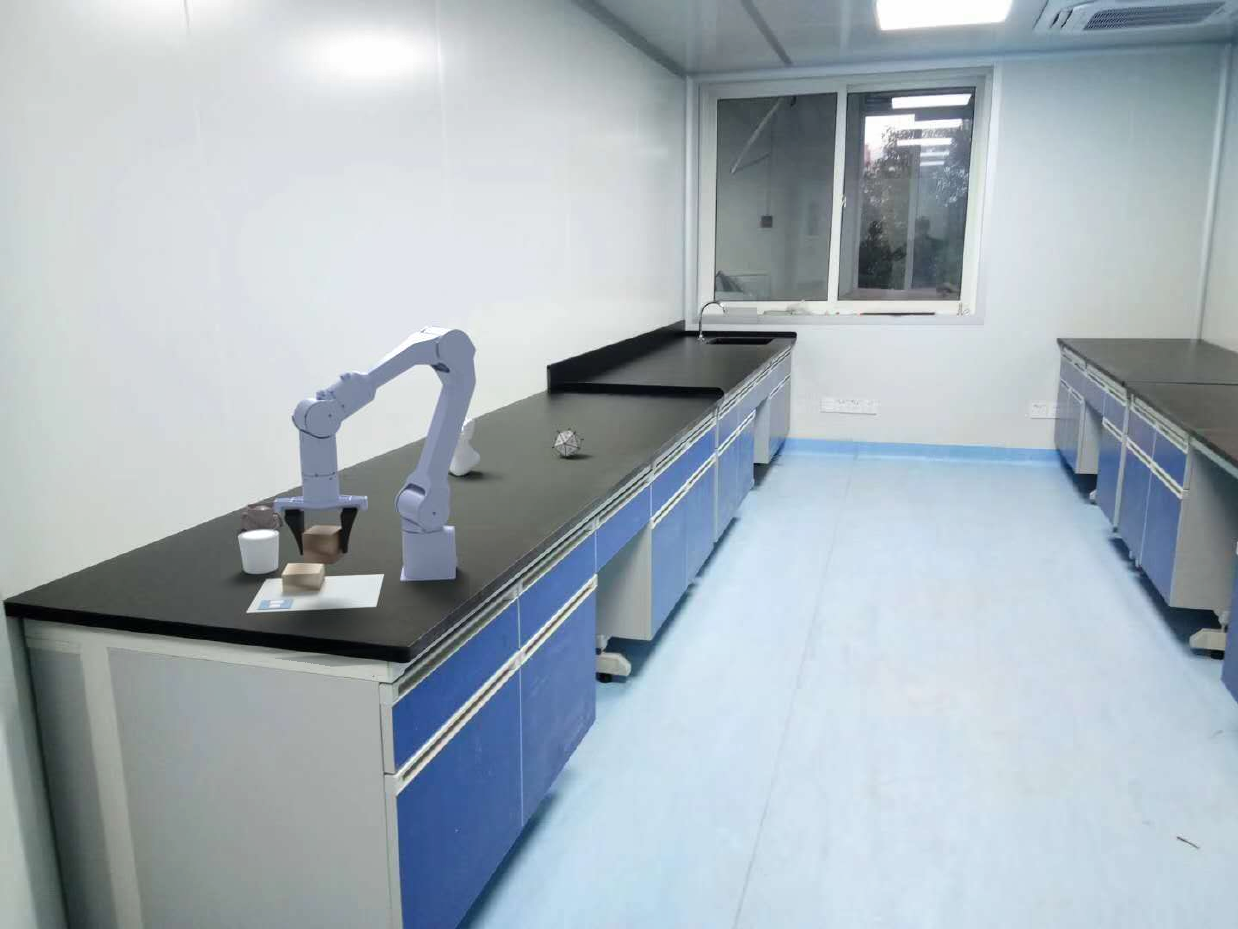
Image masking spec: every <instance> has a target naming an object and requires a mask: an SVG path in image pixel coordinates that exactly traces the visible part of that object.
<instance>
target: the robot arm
mask: <svg viewBox="0 0 1238 929" xmlns="http://www.w3.org/2000/svg"><path fill="white" fill-rule="evenodd" d="M476 352H477V349H476V346H475V344H473V341H472V340H471V338H470V337H469V335H468V334H467V333H466V332H465V331H463V330H461V329H456V328H454V329H452V328H451V329H450V328H444V327H439V326H434V325H428V326H425V327H424V328H422V329H421V330H420V331H419V332H415V333H414V334H410V336H408V338H407V339H406V340H405V341H404V342H403V343H402V344H400V345H399V346H398V347H396V348H395V349H394V350H392V351H390V352H389V353H388V354H387V355H385V356H384V357H383V358H382V359H380V360H379V361H377V362H376V363H374V364H373V365H372V366H370V367H369V368H368V369H367V370H365V371H364V372H361V371H358V370H352V371H351V372H348V371H344V372H342V373H340V375H339V378H340V379H338V380H337V381H335V382H334V383H333V384H331V385H330V386H328V387H327V388H325V389H318V390H317V391H316V392H315V394H316V396H315V397H307V398H305V399H302V400H301V401H300V402H299V403H297V404H296V406H295V407H296V408H294V412H293V414H292V415H291V421H292V423H293V425H294V427H295V428H296V429H297V430H298V438H299V439H298V440H299V458H300V473H301V488H302V495H301V496H294V497H292V496H291V497H284V498H281V497H280V498H276V499H275V500H274V501H273V502H274V510H275V513H281V514H282V513H283V512H284V517H283V520H284V521H285V523H286V524H287V526H288V528H289V529H290V531H291V534H292V535H293V537H294V539H295V541H296V544H297V548H298V551H299V554H300V556H303V543H302V533H304V532H305V531H306V530H305V512H312V511H314V512H315V511H317V512H318V511H341V513H340V514H339V518H340V526H341V528H342V554H345V555H346V554H347V553H348V551H349V542H350V537H351V532H352V528H353V525H354V522H355V521H356V517H357V514H358V513H359V510H360V511H368V508H369V505H368V504H369V502H368V501H369V499H368V496H367V495H347V494H346V495H344V494H340V485H339V484H340V482H339V471H338V470H339V469H338V468H339V467H338V466H339V465H338V448H337V447H338V446H337V437H336V434H337V432H339V430H340V428H341V426H342V422H344V421H345V420H347V419H348V418H349V417H352V415H354V414H355V413H356V412H358V411H360V410H361V409H362V408H364V407H365V406H367V405H368V404H370V403H371V402H373V401H374V400H375V399H376V398H375V397H376V394H377V389H378V388H380V387H382V386H383V385H386V384H387V383H388V382H390V381H392V380H393V379H394V378H396V377H398V376H400V375H402V374H404V372H407V371H409V369H411V368H413V367H415V366H419V365H420V366H421V365H422V366H425V365H426V366H427V365H428V366H430V368H432V369H433V370H434V372H435V374H436V375H437V377H438V379H439V380H440V382H441V384H442V387H441V388H440V389H441V390H440V393H439V396H438V399H437V403H436V407H435V409H434V412H433V415H432V420H431V423H430V425H429V429H428V432H427V435H426V438H425V441H424V445H423V447H422V451H421V453H420V454H421V455H420V458H419V461H418V463H417V468H416V469H415V470H414V471H413V472H411V474H409V475H408V476H407V477H406V480H405V483H404V486H403V487H402V488H401V489H400V490H399V491H398V493H397V495H396V496H395V499H394V508H395V512H396V514H397V515H398V516H399V517H400V518H401V535H402V536H401V539H402V540H401V541H402V542H401V543H402V559H403V560H402V562H403V566H402V569H401V572H400V573H401V574H400V579H399V581H401V582H409V581H410V582H412V581H413V582H414V581H415V582H417V581H433V580H434V581H435V580H436V581H437V580H438V581H440V580H454V579H456V574H457V573H456V570H457V567H458V556H456V530H455V529H456V528H455V526H454V525H445V524H446V523H447V521H448V519H449V517H450V512H451V511H450V510H451V509H450V508H451V507H450V497H451V493H452V491H451V487H450V485H449V482H448V479H447V478H448V475H449V472H450V470H449V469H450V466H451V463H452V459H453V456H454V453H455V450H456V446H457V443H458V440H459V437H460V433H461V430H462V427H463V424H464V421H465V417H466V418H467V414H468V412H469V407H470V405H471V401H472V397H473V394H474V391H475V388H476V382H477V378H476V377H477V376H476V370H475V362H474V357H475V355H476Z"/></svg>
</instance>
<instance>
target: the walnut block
mask: <svg viewBox="0 0 1238 929" xmlns="http://www.w3.org/2000/svg"><path fill="white" fill-rule="evenodd" d="M302 543H303V555H302V557H303V558H302V559H303V563H313V564H324V565H335V563H337V562H338V561H339V560H341V559H342V558H344V556H346V553H345V554H342V528H341V525H319V524H317V525H316V524H314V525H313V526H312V527H310V528H308V529H307V530H305V532H304V533H302Z"/></svg>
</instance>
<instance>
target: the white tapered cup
mask: <svg viewBox="0 0 1238 929" xmlns="http://www.w3.org/2000/svg"><path fill="white" fill-rule="evenodd" d="M237 539H238V545H239V549H240V554H241V560H242V566H243V571H244V572H245V573H247V574H252V575H260V574H262V575H263V574H267V573H272V572H274V571H276V570H278V568H279V550H280V549H279V543H280V541H279V540H280V532H279V531H278V530H276V529H274V530H271V529H259V530H251V531H243V532H242V533H240V534H238V536H237Z"/></svg>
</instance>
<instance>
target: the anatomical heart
mask: <svg viewBox="0 0 1238 929" xmlns="http://www.w3.org/2000/svg"><path fill="white" fill-rule="evenodd" d="M475 426H476V421H475V420H474V418H473V417H471V418H469V419H468V417H467V416H466V417H465V421H464V424H463V427H462V430H461V433H460V437H459V440H458V443H457V446H456V450H455V453H454V456H453V459H452V463H451V466H450V469H449V472H451V473H452V474H453V475H454V476H457V477H461V475H462V476H464V475H466V474H468V473H469V472H470V471H472V470H473V469H474V468H476V466H478V464H479V463H480V462H481V456H480V454H479V453H478V452H477V451H475V450H474V449H473V447H472V446H471V445H470V442H469V441H470V440H471V439H472V438H473V435H474V432H475V431H474V430H475Z"/></svg>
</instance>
